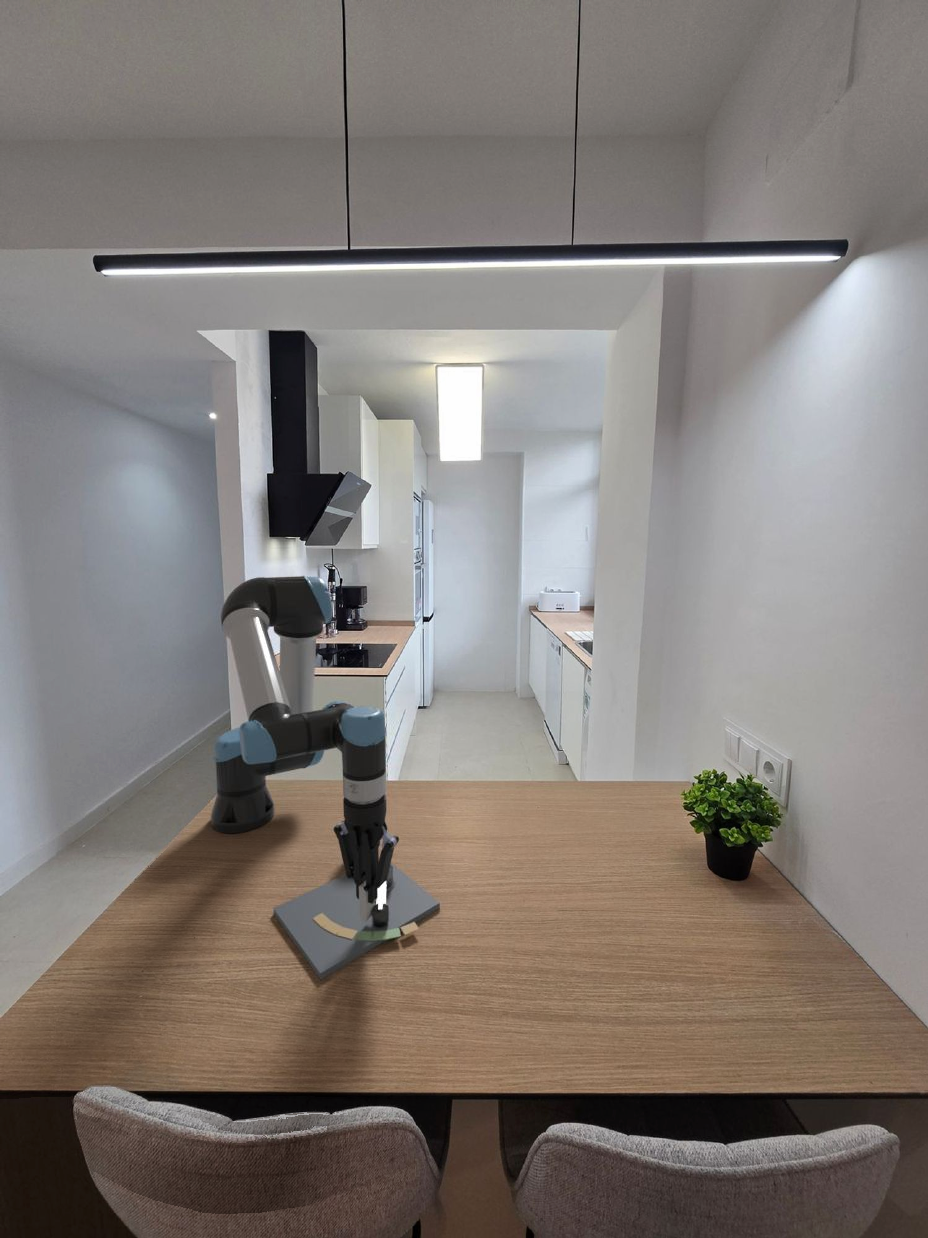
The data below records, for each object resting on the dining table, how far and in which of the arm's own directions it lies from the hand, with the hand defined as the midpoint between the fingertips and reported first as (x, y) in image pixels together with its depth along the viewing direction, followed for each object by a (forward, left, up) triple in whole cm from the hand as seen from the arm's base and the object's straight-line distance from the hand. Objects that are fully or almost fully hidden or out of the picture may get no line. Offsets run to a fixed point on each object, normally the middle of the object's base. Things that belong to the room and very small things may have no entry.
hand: (367, 915), depth 92 cm
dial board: (-4, +1, -3) cm, 5 cm away
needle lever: (-3, +5, -1) cm, 6 cm away
